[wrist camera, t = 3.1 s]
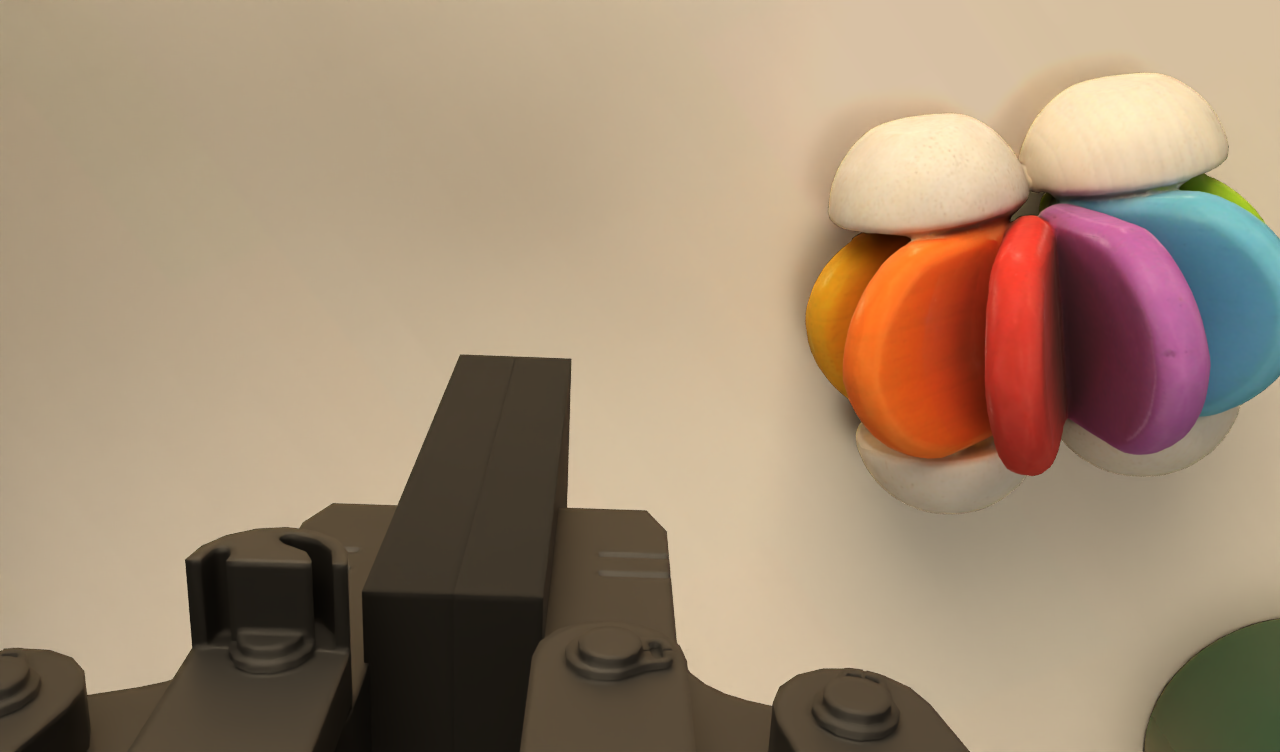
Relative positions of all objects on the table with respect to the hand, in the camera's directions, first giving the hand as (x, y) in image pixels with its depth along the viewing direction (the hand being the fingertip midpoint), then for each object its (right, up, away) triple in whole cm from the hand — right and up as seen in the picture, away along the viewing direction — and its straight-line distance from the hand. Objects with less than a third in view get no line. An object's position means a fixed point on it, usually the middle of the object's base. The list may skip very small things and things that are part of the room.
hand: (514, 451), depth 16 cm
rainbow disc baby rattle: (+10, +3, +11) cm, 15 cm away
